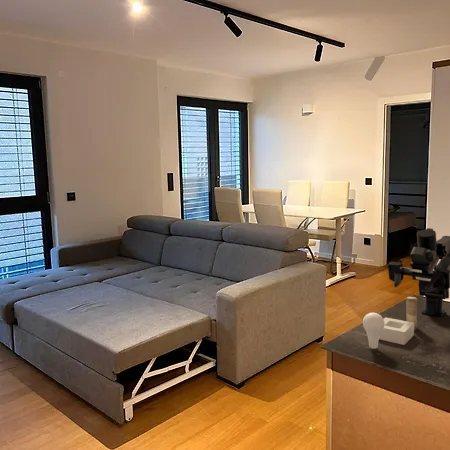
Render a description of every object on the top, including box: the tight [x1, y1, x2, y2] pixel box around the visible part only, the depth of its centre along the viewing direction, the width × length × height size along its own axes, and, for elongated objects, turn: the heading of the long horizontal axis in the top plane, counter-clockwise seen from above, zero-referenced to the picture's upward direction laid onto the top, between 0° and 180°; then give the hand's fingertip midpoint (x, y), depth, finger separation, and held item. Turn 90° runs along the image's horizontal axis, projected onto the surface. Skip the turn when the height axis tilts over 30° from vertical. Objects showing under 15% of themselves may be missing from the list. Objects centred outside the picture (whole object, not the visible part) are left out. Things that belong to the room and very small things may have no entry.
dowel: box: [405, 296, 418, 331], centre depth 147 cm, size 3×3×10 cm
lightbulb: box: [362, 312, 385, 350], centre depth 133 cm, size 6×6×11 cm
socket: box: [379, 317, 415, 346], centre depth 141 cm, size 9×9×4 cm
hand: (409, 288), depth 139 cm, fingers open, 9 cm apart
